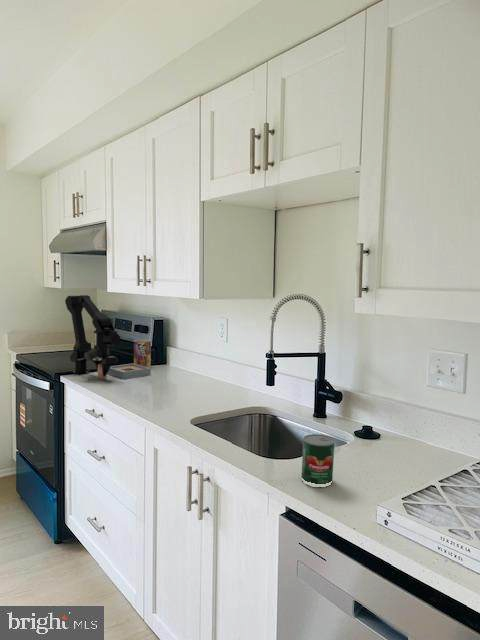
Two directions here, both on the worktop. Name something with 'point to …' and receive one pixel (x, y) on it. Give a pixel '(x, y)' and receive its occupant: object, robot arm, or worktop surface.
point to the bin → (129, 371)
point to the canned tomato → (318, 458)
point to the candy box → (142, 353)
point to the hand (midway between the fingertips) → (102, 375)
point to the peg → (100, 372)
